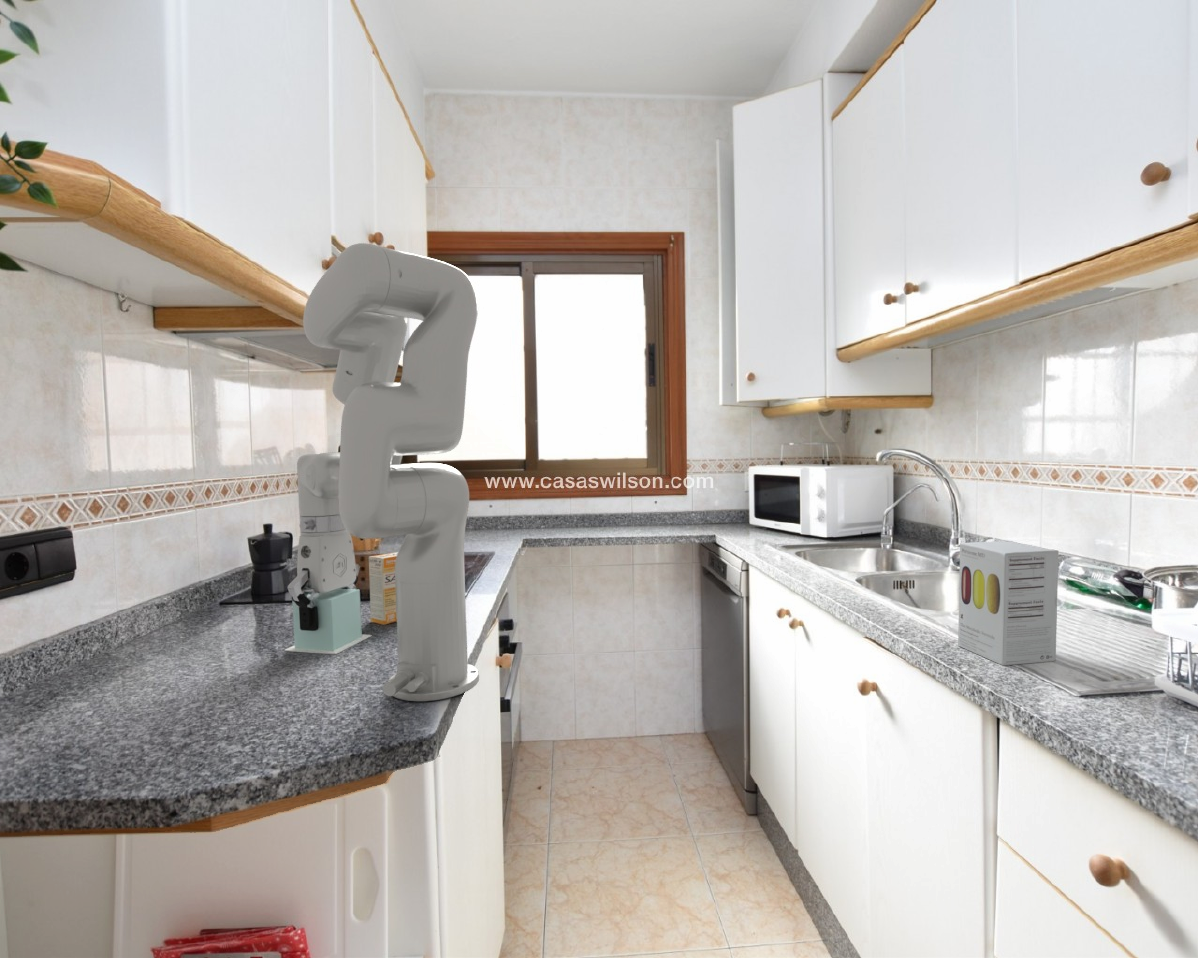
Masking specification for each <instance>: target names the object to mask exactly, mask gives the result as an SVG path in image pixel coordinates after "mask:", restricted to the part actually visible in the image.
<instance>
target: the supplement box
mask: <svg viewBox="0 0 1198 958" xmlns="http://www.w3.org/2000/svg"><path fill="white" fill-rule="evenodd" d="M398 552H399V551H397V552H390V553H384V554H378V555H377V554H376V555H370V556H368V570H369V572H368V573H369V598H370V599H369V602H370V604H369V606H370V621H371V622H372V623H376V624H380V625H383V626H385V625H388V624H393V623H395V622H396V623H397V613H396V590H395V562H396V557H397V554H398Z"/></svg>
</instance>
